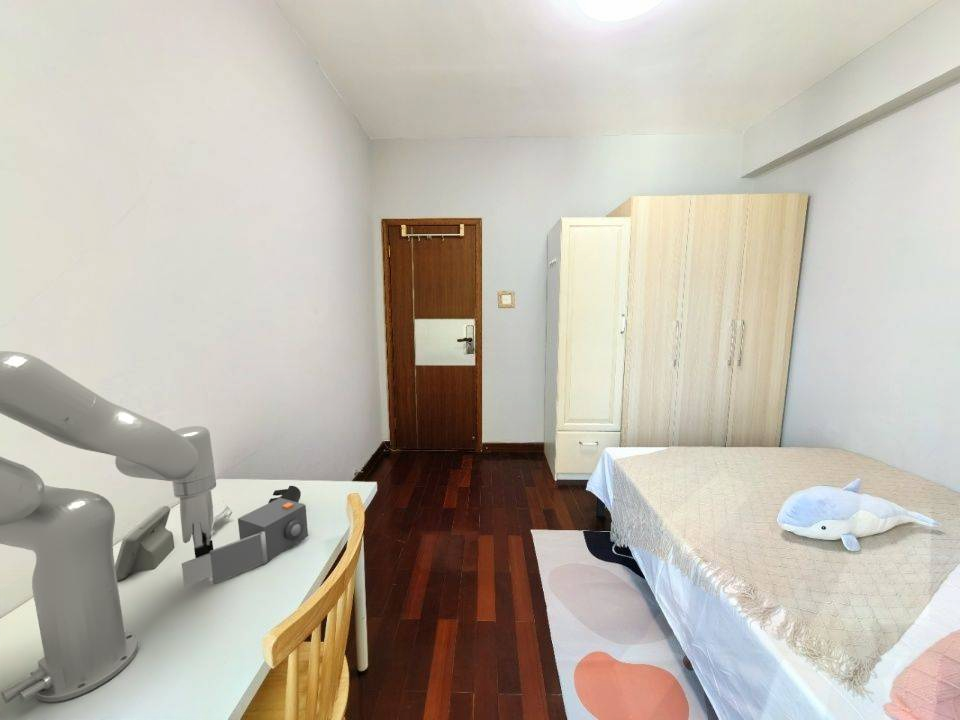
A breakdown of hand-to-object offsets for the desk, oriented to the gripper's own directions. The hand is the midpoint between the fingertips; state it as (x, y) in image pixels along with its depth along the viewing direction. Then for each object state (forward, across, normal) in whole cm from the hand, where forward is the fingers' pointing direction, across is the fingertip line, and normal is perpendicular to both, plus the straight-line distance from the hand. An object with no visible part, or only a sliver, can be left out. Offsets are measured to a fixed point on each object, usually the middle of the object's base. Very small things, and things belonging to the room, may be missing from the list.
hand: (205, 559), depth 88 cm
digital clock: (+6, -17, -14) cm, 23 cm away
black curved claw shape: (+6, -24, +18) cm, 30 cm away
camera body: (+5, -8, +14) cm, 17 cm away
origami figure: (+6, -26, 0) cm, 27 cm away
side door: (+5, +2, +4) cm, 7 cm away
